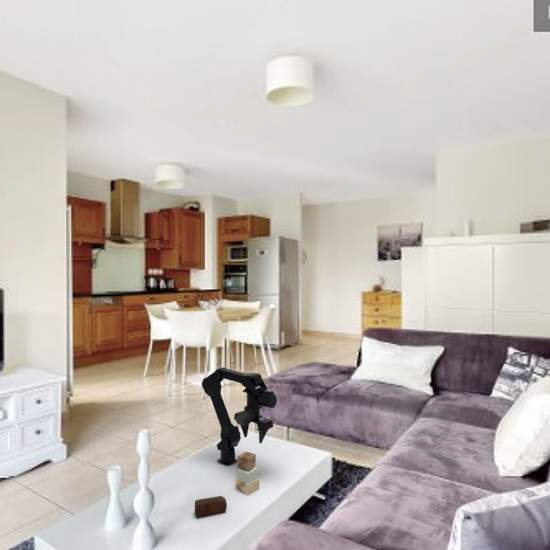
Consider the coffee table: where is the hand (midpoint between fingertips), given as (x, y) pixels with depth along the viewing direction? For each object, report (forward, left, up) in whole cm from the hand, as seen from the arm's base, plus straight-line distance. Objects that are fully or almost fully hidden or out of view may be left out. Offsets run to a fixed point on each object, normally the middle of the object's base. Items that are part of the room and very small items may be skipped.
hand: (252, 440), depth 177 cm
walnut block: (+8, -12, -5) cm, 15 cm away
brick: (+12, -32, -13) cm, 37 cm away
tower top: (+9, -12, -9) cm, 18 cm away
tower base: (+9, -12, -13) cm, 20 cm away
